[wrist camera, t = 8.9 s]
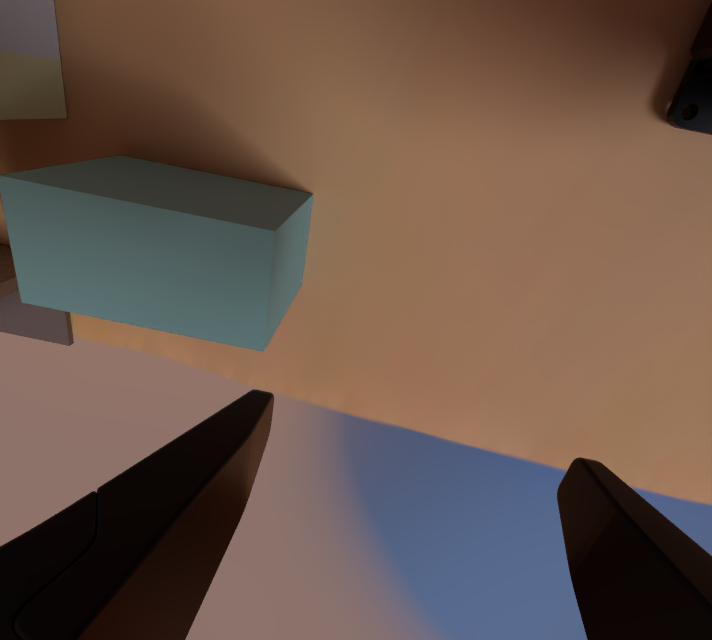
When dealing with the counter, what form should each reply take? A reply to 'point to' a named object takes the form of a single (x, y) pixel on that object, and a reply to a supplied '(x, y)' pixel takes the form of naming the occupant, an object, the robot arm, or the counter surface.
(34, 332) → the grey metal bookend
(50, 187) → the grey teal rectangular block
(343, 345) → the counter surface
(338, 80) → the counter surface
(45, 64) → the row of shelved books
